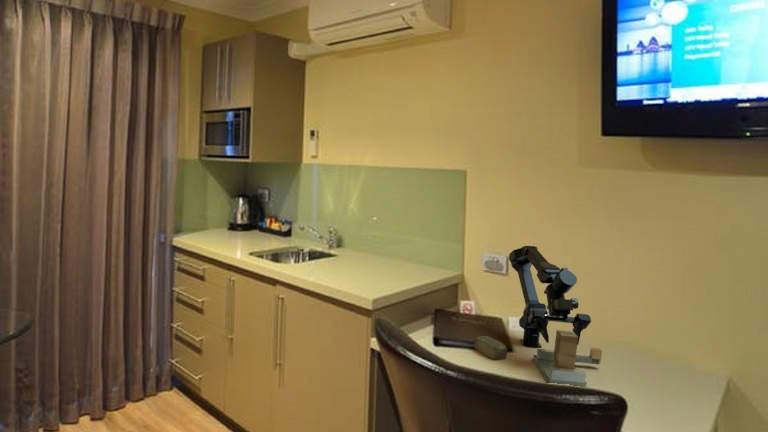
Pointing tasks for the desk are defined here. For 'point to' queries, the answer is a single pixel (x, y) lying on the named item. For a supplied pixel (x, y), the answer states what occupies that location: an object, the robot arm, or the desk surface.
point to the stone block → (490, 347)
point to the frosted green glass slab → (560, 373)
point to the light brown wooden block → (593, 358)
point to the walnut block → (565, 349)
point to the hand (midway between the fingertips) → (562, 343)
